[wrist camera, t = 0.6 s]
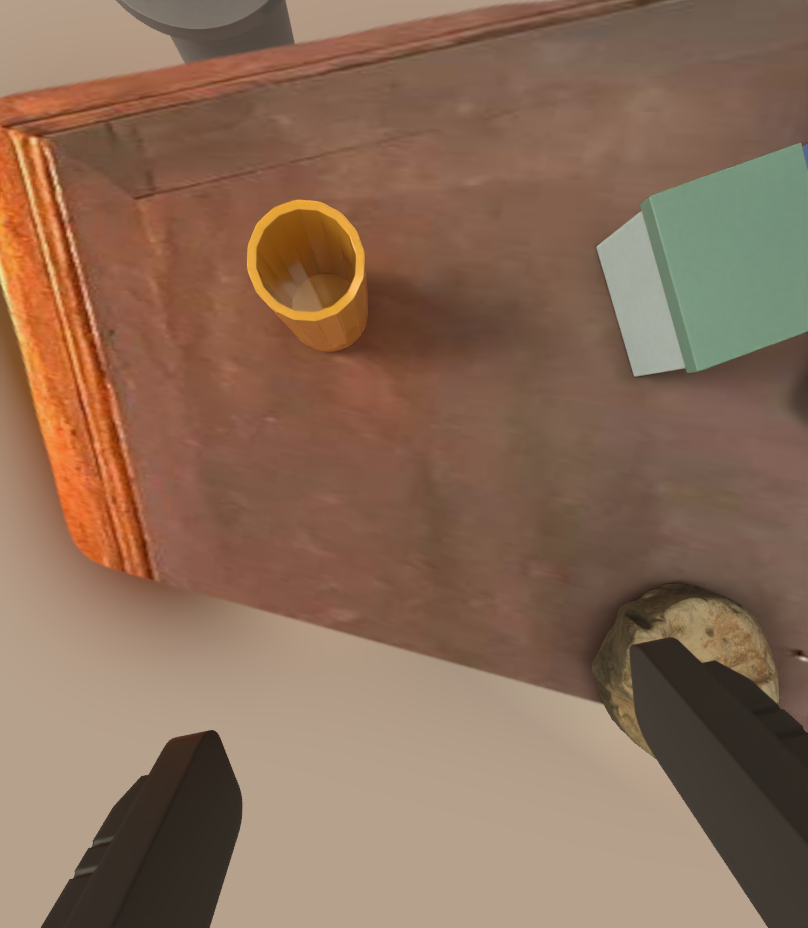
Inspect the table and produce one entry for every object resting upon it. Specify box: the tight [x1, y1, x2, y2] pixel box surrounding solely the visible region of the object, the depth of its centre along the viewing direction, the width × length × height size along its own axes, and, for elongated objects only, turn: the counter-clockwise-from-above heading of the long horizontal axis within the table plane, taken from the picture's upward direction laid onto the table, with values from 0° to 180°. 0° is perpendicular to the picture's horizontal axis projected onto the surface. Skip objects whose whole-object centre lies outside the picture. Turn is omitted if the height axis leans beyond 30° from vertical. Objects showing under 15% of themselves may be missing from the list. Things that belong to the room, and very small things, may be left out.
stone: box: [591, 583, 779, 759], centre depth 33 cm, size 13×13×5 cm
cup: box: [247, 200, 368, 352], centre depth 27 cm, size 6×6×10 cm
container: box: [596, 143, 808, 377], centre depth 30 cm, size 11×10×7 cm
